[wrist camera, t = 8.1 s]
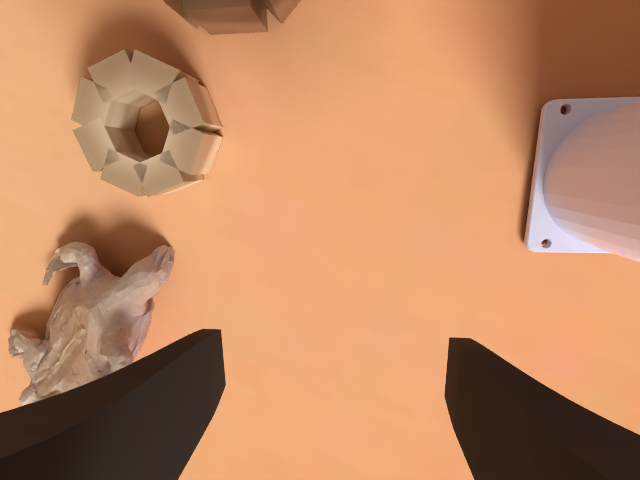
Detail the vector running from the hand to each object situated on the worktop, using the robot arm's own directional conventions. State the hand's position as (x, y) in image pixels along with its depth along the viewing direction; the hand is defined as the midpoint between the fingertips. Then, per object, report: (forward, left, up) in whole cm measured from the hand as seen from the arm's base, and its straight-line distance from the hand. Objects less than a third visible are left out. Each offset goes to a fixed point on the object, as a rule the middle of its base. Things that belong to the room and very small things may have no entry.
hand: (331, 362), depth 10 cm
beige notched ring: (+11, -8, -10) cm, 17 cm away
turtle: (+17, +5, -11) cm, 21 cm away
